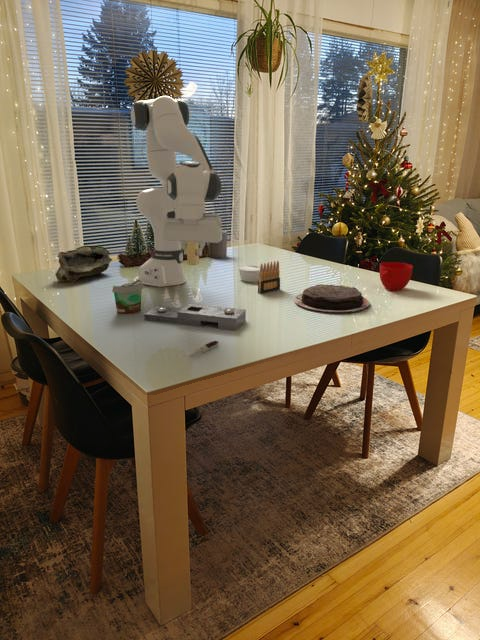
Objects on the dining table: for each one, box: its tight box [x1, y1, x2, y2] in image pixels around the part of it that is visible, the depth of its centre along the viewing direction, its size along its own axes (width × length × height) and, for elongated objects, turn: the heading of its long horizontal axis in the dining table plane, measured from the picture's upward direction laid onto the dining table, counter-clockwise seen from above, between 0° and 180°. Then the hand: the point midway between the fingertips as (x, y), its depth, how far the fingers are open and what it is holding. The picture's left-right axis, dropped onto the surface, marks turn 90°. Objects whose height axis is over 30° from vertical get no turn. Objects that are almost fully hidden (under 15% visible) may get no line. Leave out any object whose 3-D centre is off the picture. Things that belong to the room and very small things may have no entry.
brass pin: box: [186, 242, 200, 266], centre depth 167 cm, size 3×3×8 cm
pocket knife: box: [187, 340, 220, 358], centre depth 138 cm, size 14×1×2 cm, turn 146°
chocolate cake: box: [293, 283, 371, 315], centre depth 185 cm, size 28×28×7 cm
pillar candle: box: [208, 229, 228, 259], centre depth 263 cm, size 10×10×15 cm
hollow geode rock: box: [54, 245, 113, 283], centre depth 219 cm, size 28×13×15 cm
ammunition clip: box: [257, 260, 281, 295], centre depth 199 cm, size 11×2×12 cm, turn 130°
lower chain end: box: [143, 305, 208, 327], centre depth 166 cm, size 20×10×3 cm, turn 72°
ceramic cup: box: [379, 261, 414, 292], centre depth 203 cm, size 13×17×10 cm
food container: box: [112, 279, 144, 315], centre depth 172 cm, size 12×6×10 cm, turn 148°
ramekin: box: [238, 265, 261, 283], centre depth 218 cm, size 11×11×5 cm
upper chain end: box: [177, 303, 247, 332], centre depth 162 cm, size 20×10×5 cm, turn 72°
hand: (193, 255), depth 167 cm, fingers closed on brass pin, 3 cm apart
